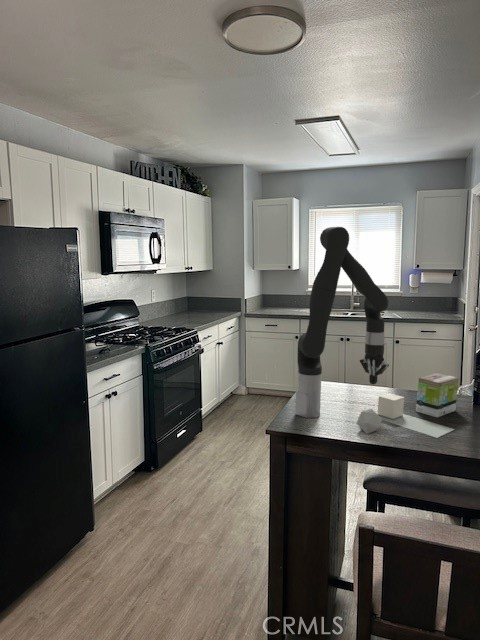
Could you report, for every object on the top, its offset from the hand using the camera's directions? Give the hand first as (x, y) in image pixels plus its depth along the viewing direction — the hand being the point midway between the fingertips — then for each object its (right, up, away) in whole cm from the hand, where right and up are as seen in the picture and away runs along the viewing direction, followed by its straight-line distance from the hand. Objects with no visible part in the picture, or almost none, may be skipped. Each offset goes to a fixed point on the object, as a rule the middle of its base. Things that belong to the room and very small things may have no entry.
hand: (373, 383), depth 191 cm
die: (-8, -15, -21) cm, 27 cm away
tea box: (+27, -12, +2) cm, 29 cm away
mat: (+11, -14, -12) cm, 21 cm away
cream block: (+5, -12, -5) cm, 14 cm away
